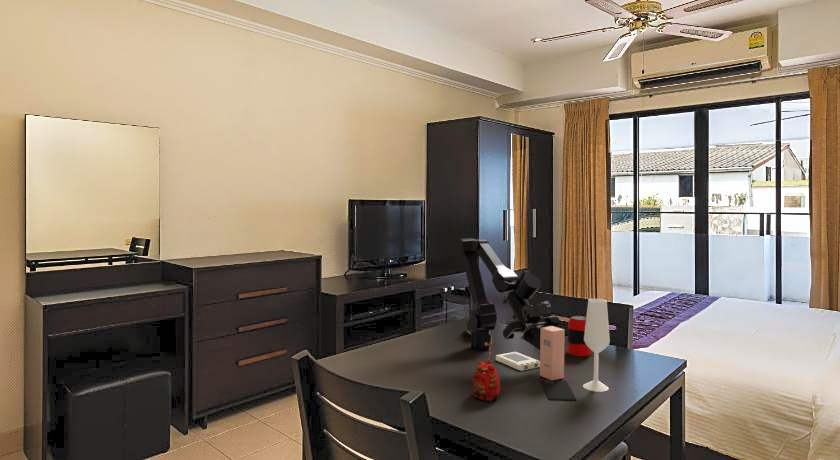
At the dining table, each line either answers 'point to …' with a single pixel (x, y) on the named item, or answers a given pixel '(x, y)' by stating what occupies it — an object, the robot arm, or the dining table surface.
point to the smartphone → (558, 390)
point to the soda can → (577, 337)
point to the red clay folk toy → (486, 380)
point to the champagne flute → (596, 337)
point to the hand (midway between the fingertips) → (545, 352)
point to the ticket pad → (518, 361)
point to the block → (552, 352)
